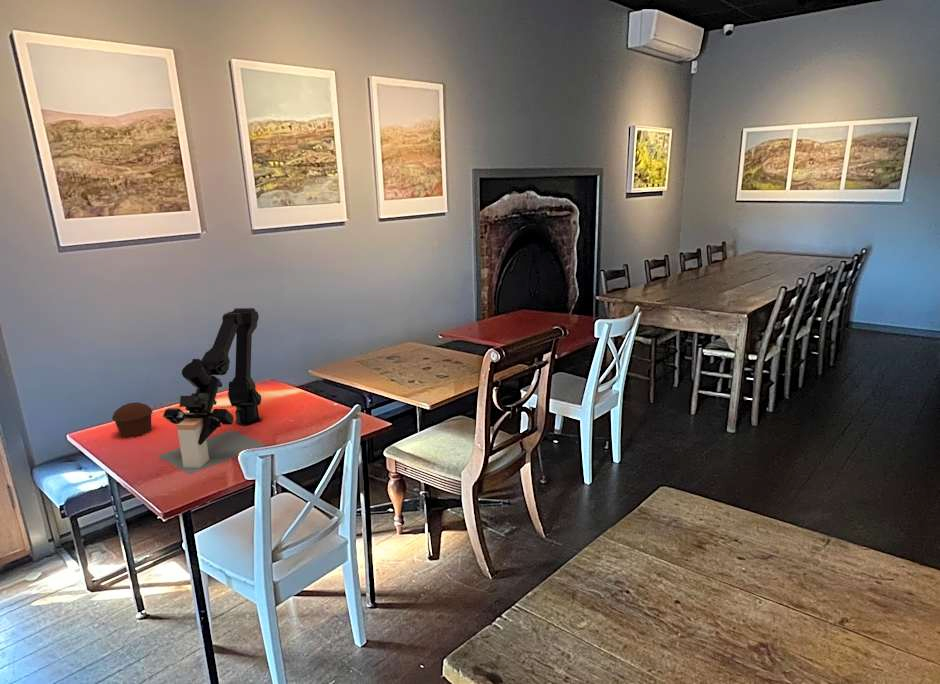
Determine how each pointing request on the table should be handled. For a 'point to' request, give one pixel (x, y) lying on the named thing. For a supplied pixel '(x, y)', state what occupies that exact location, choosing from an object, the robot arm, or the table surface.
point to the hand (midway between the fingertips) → (190, 444)
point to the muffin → (133, 419)
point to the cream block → (192, 443)
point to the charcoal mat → (215, 450)
